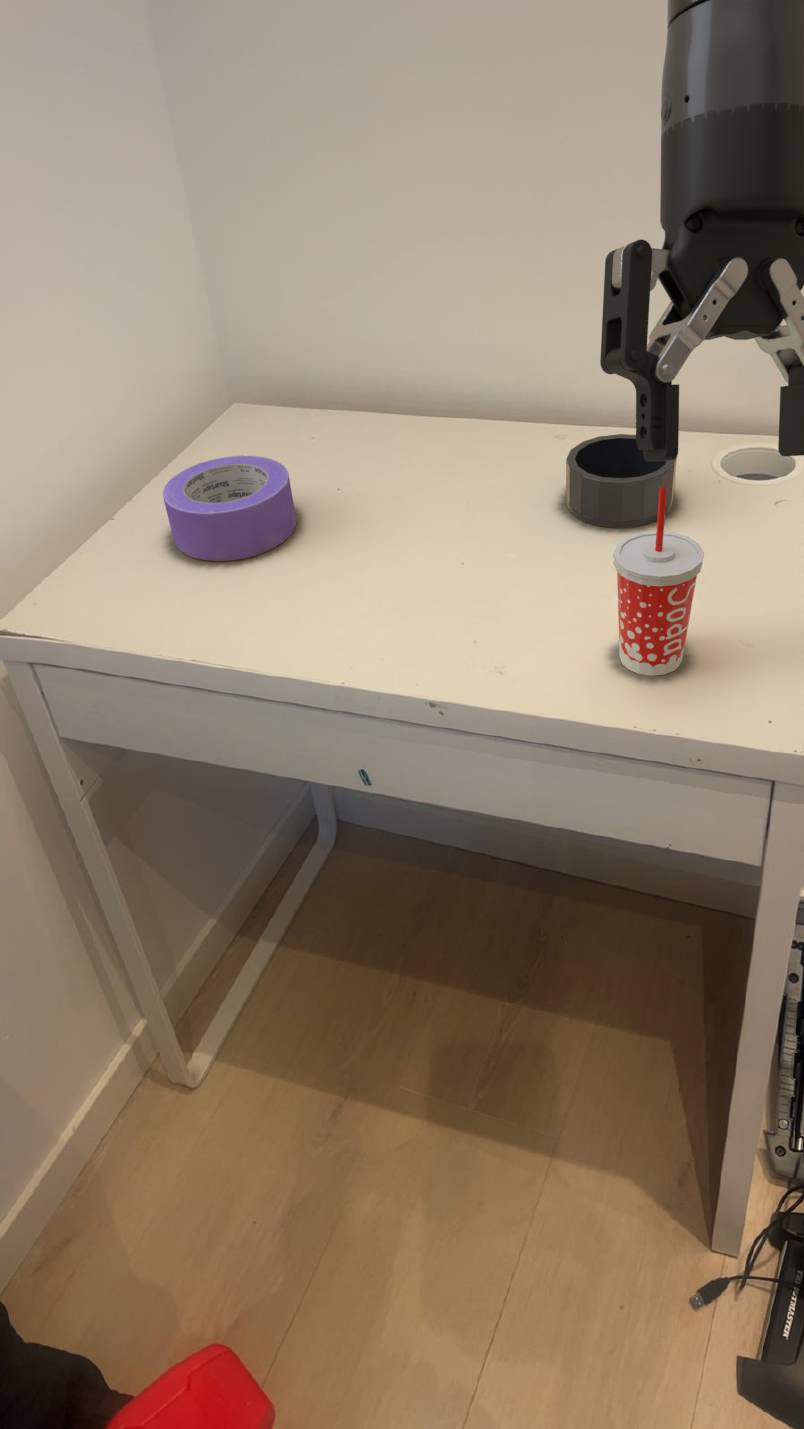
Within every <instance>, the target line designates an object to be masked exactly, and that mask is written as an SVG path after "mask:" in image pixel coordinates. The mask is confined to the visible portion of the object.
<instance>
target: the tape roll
mask: <svg viewBox="0 0 804 1429" xmlns="http://www.w3.org/2000/svg"><path fill="white" fill-rule="evenodd" d="M162 489H163V490H162V499H163V503H164V506H165V511H166V514H167V517H168V523H169V526H170V531H171V534H172V538H173V542H174V545H175V546H176V548H177V549H178V551H180V552H181V553H183V554H184V555H187V556H188V557H191V558H194V559H197V560H202V561H211V562H223V561H225V562H226V561H235V560H237V561H238V560H243V559H247V558H251V557H255V556H257V555H261V554H263V553H265V552H268V551H270V550H272V549H274V548H276V547H278V546H279V545H281V544H282V543H284V542H285V541H286V540H287V539H289V537H291V536H292V534H293V532H294V531H295V529H296V527H297V516H296V510H295V503H294V498H293V491H292V486H291V479H290V475H289V471H288V469H287V468H286V466H285V465H284V464H282V463H281V462H279V461H277V460H274V459H272V458H270V457H269V458H268V457H265V456H257V455H231V456H224V457H219V458H214V459H210V460H206V461H203V462H199V463H196V464H194V465H191V466H189V467H187V468H185V469H183V470H181V471H180V472H178V473H177V474H175V475H174V476H172V477H171V478H170V479H169V480H168V481H167V483H165V485H164V487H163V488H162Z"/></svg>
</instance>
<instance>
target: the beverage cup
mask: <svg viewBox="0 0 804 1429" xmlns="http://www.w3.org/2000/svg"><path fill="white" fill-rule="evenodd" d="M666 494H667V486H665V485H662V486H660V490H659V504H658V518H657V520H656V530H650V531H641V532H637V533H634V534H631V535H628V536H626V537H625V538H623V539H622V540H621V541H620V542H618V543H616V545H615V548H614V550H613V566H614V568H615V571H616V574H617V576H616V578H617V610H618V611H617V615H618V616H617V617H618V619H617V620H618V651H619V652H618V653H619V656H618V657H619V659H620V662H621V664H622V665H623V667H625V668H626V669H627V670H628V671H631V672H634V673H636V674H638V675H643V676H651V677H654V676H664V675H667V674H669V673H672V672H675V671H676V670H677V669H678V668H679V667H680V666H681V665H682V662H683V658H684V651H685V646H686V641H687V634H688V629H689V623H690V618H691V611H692V607H693V601H694V595H695V589H696V583H697V577H698V574H700V573H701V572H702V568H703V563H704V562H703V561H704V558H705V551H704V549H703V547H702V546H701V544H700V543H699V542H697V541H696V540H694V539H693V538H691V537H690V536H687V535H684V534H681V533H678V532H674V531H665V520H666V515H665V507H666Z"/></svg>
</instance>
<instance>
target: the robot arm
mask: <svg viewBox="0 0 804 1429" xmlns="http://www.w3.org/2000/svg"><path fill="white" fill-rule="evenodd" d="M666 9H667V18H666V19H667V20H666V22H667V24H666V26H667V27H666V28H667V31H666V32H667V33H666V45H665V47H666V48H665V54H664V61H663V68H662V77H661V97H660V98H661V103H660V104H661V106H660V195H659V196H660V204H659V205H660V208H659V209H660V210H659V213H660V215H659V222H660V226H661V228H662V229H663V231H664V239H663V240H664V241H663V244H662V247H661V248H653V247H652V246H651V244H650V242H649V241H647V240H645V239H642V238H641V239H637V240H635V241H632V242H630V243H627V244H625V245H623V246H620V247H619V248H616V249H614V250H611V251H609V253H607V255H606V257H605V261H604V262H605V263H604V277H603V282H604V283H603V298H602V299H603V300H602V301H603V302H602V317H601V319H602V320H601V341H600V359H599V360H600V362H599V363H600V367H601V370H602V371H603V373H605V374H607V375H617V376H620V378H624V379H626V380H628V381H630V382H631V383H632V385H633V386H634V389H635V420H636V421H635V428H636V429H635V435H636V442H637V445H638V448H639V450H643V454H644V458H645V460H646V461H647V462H653V461H673V460H675V459H676V458H677V459H678V455H679V440H680V438H679V435H680V434H679V433H680V432H679V430H680V429H679V426H680V423H679V422H680V417H679V416H680V384H679V383H677V384H673V380H675V378H676V377H677V376H678V374H679V372H680V371H681V369H682V368H683V366H684V364H685V363H686V362H687V360H688V358H689V356H690V355H691V353H692V352H693V351H694V350H695V349H696V348H697V347H699V346H700V345H701V344H702V343H703V342H704V341H709V340H714V339H720V338H723V337H725V338H728V339H731V340H734V341H747V340H752V339H754V340H755V342H756V344H757V346H758V347H759V349H760V350H761V351H762V352H764V353H765V354H767V355H769V356H770V357H771V358H772V360H773V362H774V364H775V366H776V367H777V369H778V370H779V373H780V374H781V376H782V377H783V379H784V381H785V382H786V383H787V385H784V386H780V389H779V390H780V391H779V418H778V422H779V423H778V442H777V443H778V444H777V445H778V446H777V447H778V448H777V449H778V453H779V455H780V456H781V457H797V456H798V457H799V456H800V457H801V456H802V457H803V456H804V296H803V293H802V290H803V289H804V0H667V8H666ZM657 281H659V282H660V285H661V286H662V288H663V289H664V291H665V292H666V294H667V296H668V298H669V299H670V301H669V303H668V305H667V307H666V308H665V310H664V312H663V313H662V314H661V316H660V318H659V320H658V321H657V322H656V324H655V326H654V327H653V329H652V330H651V331H650V334H649V318H650V317H649V315H650V299H651V298H650V297H651V292H652V291H653V290H654V289H655V287H656V285H657ZM783 321H784V322H785V325H781V324H782V322H783ZM648 334H649V335H648ZM648 339H649V341H648Z"/></svg>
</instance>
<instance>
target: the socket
mask: <svg viewBox="0 0 804 1429" xmlns="http://www.w3.org/2000/svg"><path fill="white" fill-rule="evenodd" d="M677 462H678V457H677V458H676V459H675V460H673V461H653V462H647V461H646V460H645V458H644V454H643V450H639V448H638V445H637V442H636V434H626V433H624V434H623V433H617V434H609V435H601V436H595V437H592V438H590V439H587V440H584V441H581V442H580V443H578V444H577V445H575V446H573V447H572V448H571V449H570V451H569V453H568V454H567V457H566V459H565V498H566V506H567V509H568V511H569V513H570V514H571V515H573V516H574V517H575V518H576V519H577V520H580V521H582V522H584V523H587V524H589V525H593V526H598V527H603V528H611V529H612V528H613V529H621V528H622V529H625V528H626V529H627V528H635V527H640V526H641V527H642V526H645V525H649V524H651V523H654V522H657V518H658V504H659V490H660V486H662V485H665V486H667V494H666V507H665V516H666V515H667V514H668V513H669V512H670V511H671V509H672V507H673V502H674V496H675V486H676V474H677V473H676V472H677Z"/></svg>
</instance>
